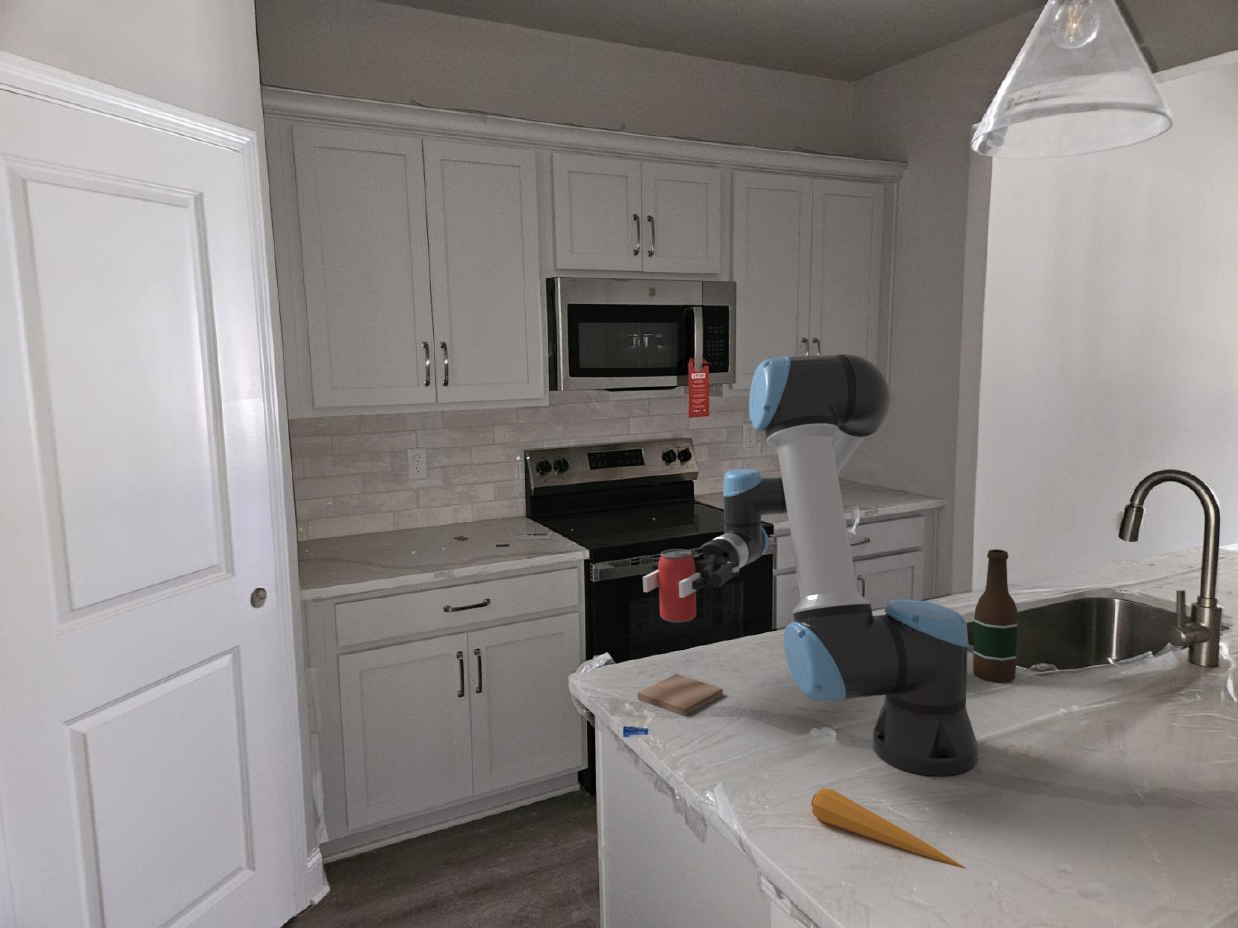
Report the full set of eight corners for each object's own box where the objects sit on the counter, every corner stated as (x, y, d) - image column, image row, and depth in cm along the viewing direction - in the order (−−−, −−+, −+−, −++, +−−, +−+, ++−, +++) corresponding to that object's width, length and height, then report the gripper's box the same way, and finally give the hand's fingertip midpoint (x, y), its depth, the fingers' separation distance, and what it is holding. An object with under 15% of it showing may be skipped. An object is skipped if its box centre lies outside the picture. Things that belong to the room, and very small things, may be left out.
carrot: (808, 823, 111) (805, 801, 109) (823, 798, 114) (820, 776, 111) (960, 894, 98) (960, 872, 96) (973, 864, 101) (973, 841, 99)
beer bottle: (984, 664, 159) (987, 543, 156) (1024, 675, 153) (1029, 550, 150) (964, 675, 155) (966, 551, 151) (1005, 687, 149) (1009, 558, 145)
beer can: (694, 624, 144) (692, 557, 142) (657, 623, 145) (655, 557, 144) (698, 612, 150) (696, 548, 149) (662, 611, 152) (660, 547, 150)
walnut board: (722, 694, 150) (722, 688, 150) (685, 715, 142) (684, 709, 142) (676, 679, 158) (676, 673, 157) (638, 698, 150) (637, 692, 150)
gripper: (768, 581, 157) (713, 616, 138) (679, 569, 168) (616, 600, 149) (767, 542, 156) (712, 572, 137) (678, 533, 166) (615, 560, 147)
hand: (662, 587), depth 143 cm, fingers closed on beer can, 6 cm apart
